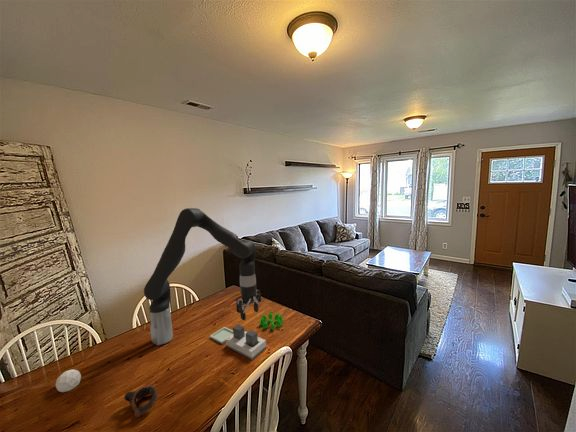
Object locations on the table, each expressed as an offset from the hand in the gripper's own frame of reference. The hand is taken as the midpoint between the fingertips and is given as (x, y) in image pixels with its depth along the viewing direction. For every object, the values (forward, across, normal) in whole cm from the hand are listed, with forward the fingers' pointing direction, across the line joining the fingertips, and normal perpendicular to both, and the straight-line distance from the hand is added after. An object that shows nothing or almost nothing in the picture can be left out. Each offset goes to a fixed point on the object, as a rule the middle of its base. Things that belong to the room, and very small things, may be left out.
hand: (250, 315), depth 117 cm
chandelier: (+18, +23, +7) cm, 30 cm away
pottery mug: (+19, -44, +15) cm, 51 cm away
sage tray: (+18, 0, +21) cm, 28 cm away
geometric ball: (+18, -58, +47) cm, 77 cm away
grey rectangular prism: (+17, 0, 0) cm, 17 cm away
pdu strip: (+18, 0, +4) cm, 19 cm away
